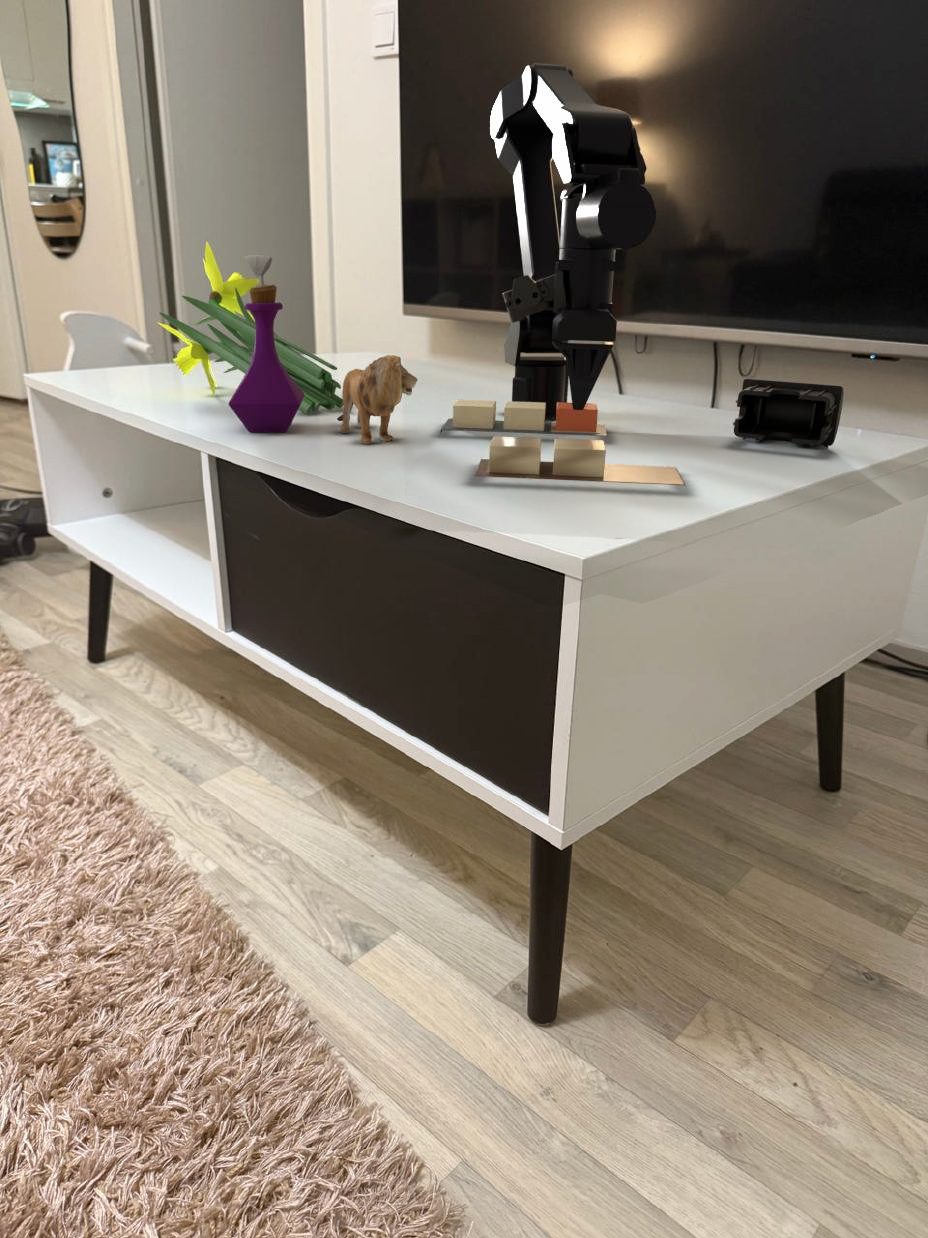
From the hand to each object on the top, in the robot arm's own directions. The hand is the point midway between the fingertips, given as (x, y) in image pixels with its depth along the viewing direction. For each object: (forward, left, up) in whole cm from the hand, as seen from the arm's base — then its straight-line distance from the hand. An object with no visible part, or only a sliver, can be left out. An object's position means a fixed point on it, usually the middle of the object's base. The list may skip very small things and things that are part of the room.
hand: (577, 403), depth 99 cm
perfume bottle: (+26, -22, -4) cm, 34 cm away
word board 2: (+15, +15, -4) cm, 21 cm away
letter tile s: (0, 0, -3) cm, 3 cm away
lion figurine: (+19, -12, -4) cm, 23 cm away
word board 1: (+4, -4, -4) cm, 7 cm away
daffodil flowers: (+16, -43, -4) cm, 46 cm away
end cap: (-14, +17, -4) cm, 22 cm away
